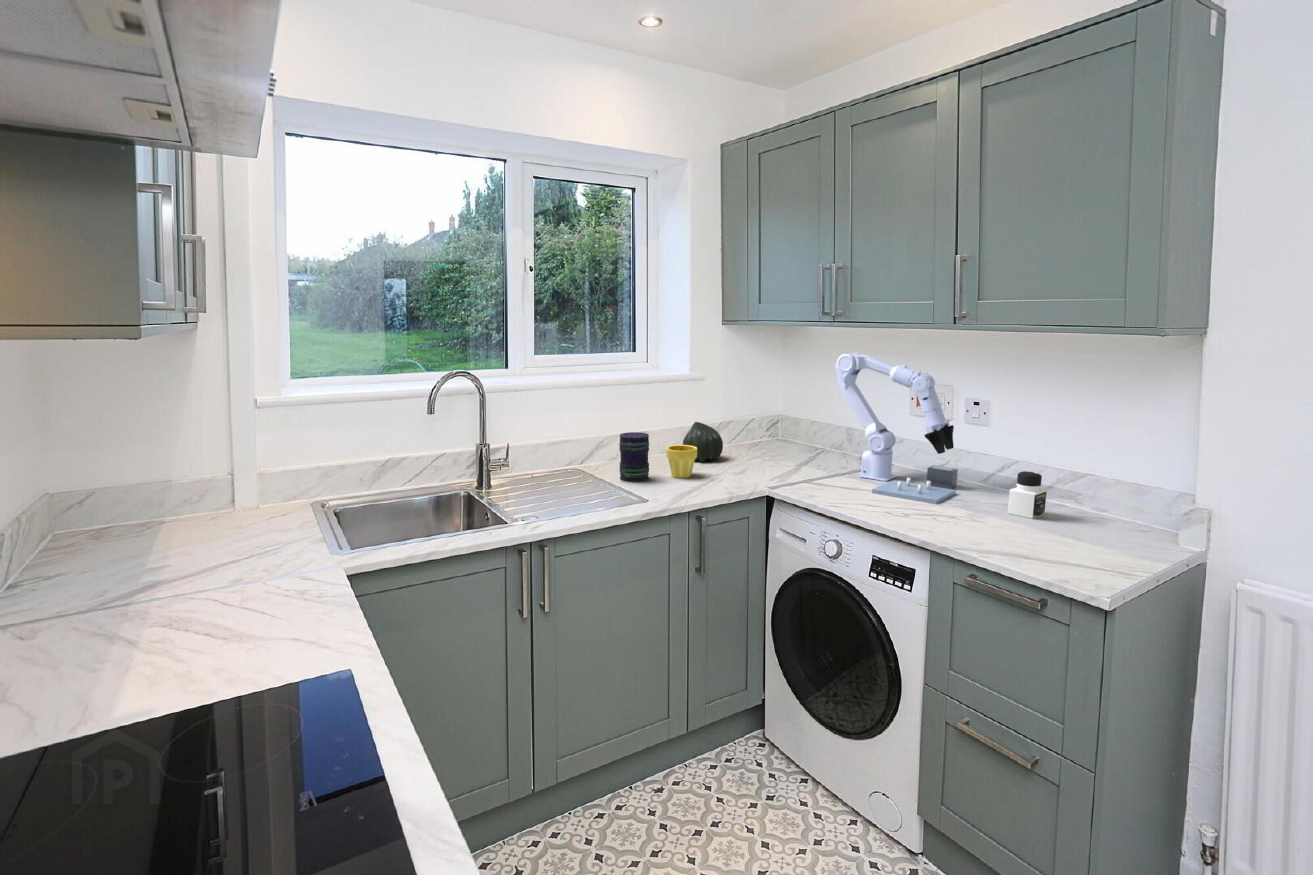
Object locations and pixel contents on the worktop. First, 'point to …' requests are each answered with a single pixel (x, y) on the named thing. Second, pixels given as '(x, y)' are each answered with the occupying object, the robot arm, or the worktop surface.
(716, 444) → the squash
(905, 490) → the tray
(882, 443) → the robot arm
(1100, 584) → the worktop surface
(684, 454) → the plant pot
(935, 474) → the grey notched block
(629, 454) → the storage jar
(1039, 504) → the medicine bottle
